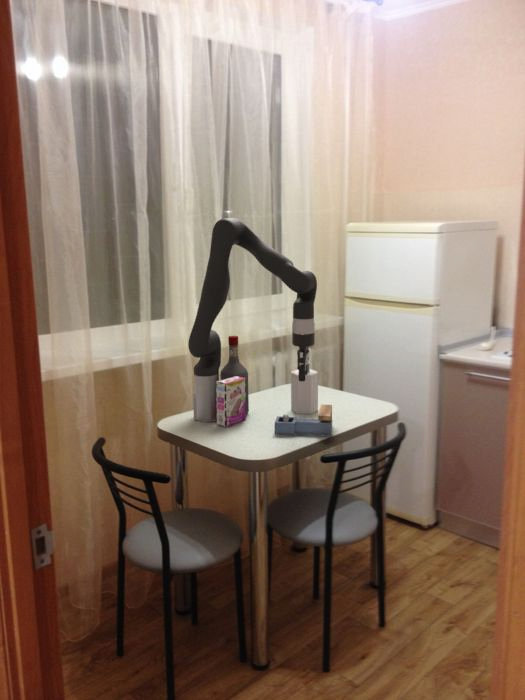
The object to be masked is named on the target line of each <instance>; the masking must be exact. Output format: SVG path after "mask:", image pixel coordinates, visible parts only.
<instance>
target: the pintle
mask: <svg viewBox="0 0 525 700" xmlns="http://www.w3.org/2000/svg"><path fill="white" fill-rule="evenodd" d="M282 417H283V422H289V417H290V415H289V414H283V416H282Z"/></svg>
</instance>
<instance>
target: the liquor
mask: <svg viewBox="0 0 525 700" xmlns="http://www.w3.org/2000/svg"><path fill="white" fill-rule="evenodd" d="M235 376H238V377H243V378H246V383H245V384H246V385H245V386H246V396H245V398H246V415H248V413H249V411H250V410H249V409H250V406H249V372H248V369H247V368H246V367H245V366H244V365H243V364H242V363H241V362H240V359H239V336H238V335H229V336H228V362H226V364H225V365H224V366H223V367H222V369H220V372H219V381H220V380H224V379H228V378H231V377H235Z"/></svg>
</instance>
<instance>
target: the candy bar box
mask: <svg viewBox="0 0 525 700" xmlns="http://www.w3.org/2000/svg"><path fill="white" fill-rule="evenodd" d="M245 383H246V378H243V377H238V376H235V377H231V378H228V379H224V380H220V379H219V381H217V382H216V402H217V403H216V404H217V405H216V408H217V420H216V425H217V426H219V427H222V428H228V427H230V426H233V425H236V424H239V423H241V422H244V421H246V420H247V418H246V415H247V414H246V398H245V396H246V386H245V385H246V384H245Z"/></svg>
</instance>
